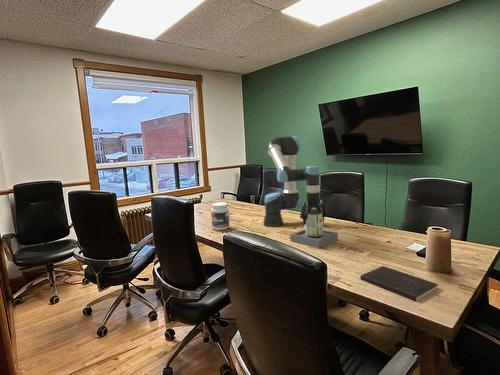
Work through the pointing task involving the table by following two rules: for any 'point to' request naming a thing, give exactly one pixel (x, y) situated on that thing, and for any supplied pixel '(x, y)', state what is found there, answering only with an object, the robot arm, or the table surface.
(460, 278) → the table surface
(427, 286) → the hardcover book
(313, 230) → the coffee can
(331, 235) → the grey square tray
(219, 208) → the supplement tub
